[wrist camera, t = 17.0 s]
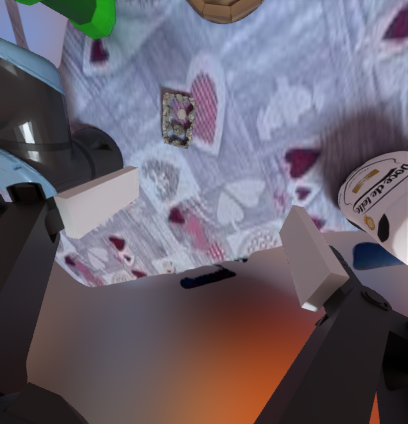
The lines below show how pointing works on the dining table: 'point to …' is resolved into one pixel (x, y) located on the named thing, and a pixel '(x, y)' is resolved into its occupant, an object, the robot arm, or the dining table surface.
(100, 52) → the dining table surface
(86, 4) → the plastic bottle
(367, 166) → the milk container
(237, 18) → the tray
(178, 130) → the egg carton
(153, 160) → the dining table surface
